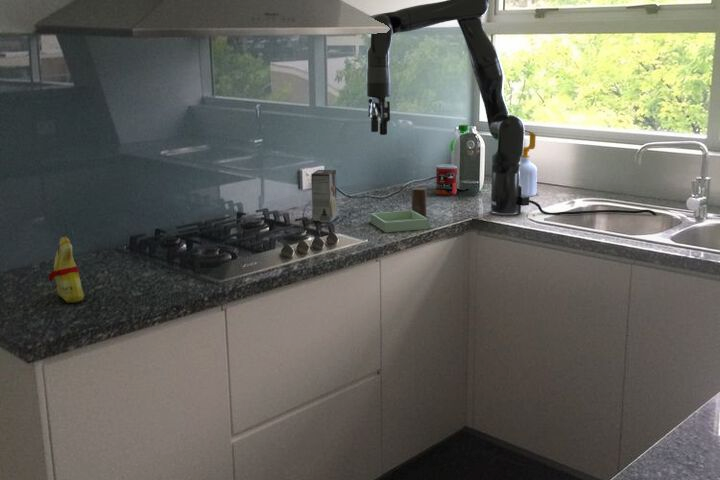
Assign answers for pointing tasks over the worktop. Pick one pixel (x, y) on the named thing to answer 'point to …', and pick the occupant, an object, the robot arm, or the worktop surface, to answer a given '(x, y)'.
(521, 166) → the soap bottle
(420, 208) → the pepper mill
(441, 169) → the canned food
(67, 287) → the chocolate bunny
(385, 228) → the tray
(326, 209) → the coffee box
